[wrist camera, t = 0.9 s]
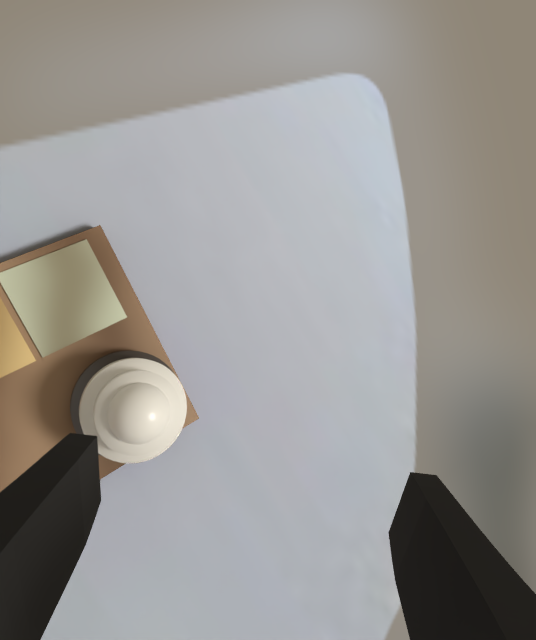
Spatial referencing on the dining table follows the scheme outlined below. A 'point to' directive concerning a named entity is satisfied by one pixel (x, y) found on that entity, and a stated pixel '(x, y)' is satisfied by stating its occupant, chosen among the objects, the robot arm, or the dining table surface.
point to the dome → (133, 409)
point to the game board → (63, 343)
